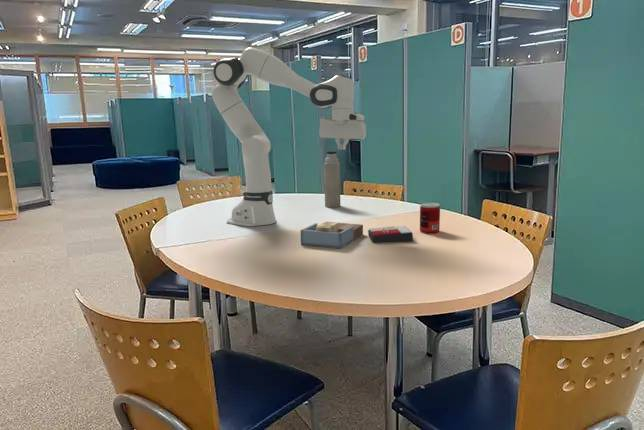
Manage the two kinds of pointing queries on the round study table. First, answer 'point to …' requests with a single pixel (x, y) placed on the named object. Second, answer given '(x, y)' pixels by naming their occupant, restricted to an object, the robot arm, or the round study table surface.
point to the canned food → (429, 218)
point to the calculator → (390, 234)
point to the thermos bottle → (332, 180)
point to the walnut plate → (356, 229)
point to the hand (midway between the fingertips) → (341, 149)
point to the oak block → (328, 227)
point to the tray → (326, 237)
